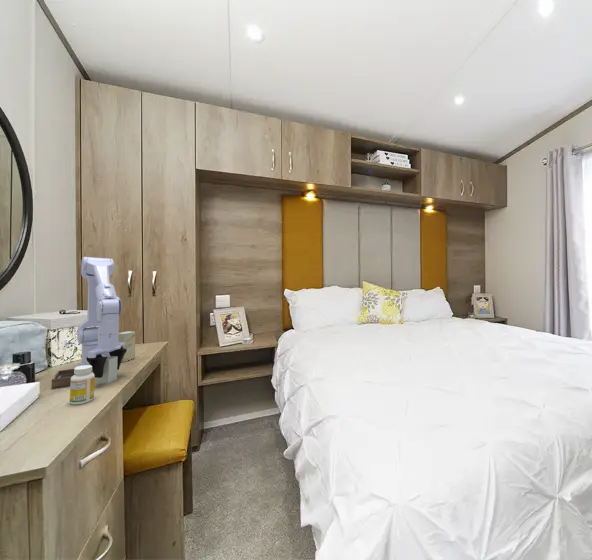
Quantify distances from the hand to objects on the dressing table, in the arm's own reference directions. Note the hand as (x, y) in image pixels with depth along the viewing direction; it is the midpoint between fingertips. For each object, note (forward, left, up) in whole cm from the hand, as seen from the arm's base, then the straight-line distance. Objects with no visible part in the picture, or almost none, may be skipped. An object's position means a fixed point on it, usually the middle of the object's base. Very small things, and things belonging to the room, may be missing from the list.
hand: (107, 373), depth 90 cm
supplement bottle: (+15, +4, -3) cm, 16 cm away
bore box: (+1, -11, -3) cm, 11 cm away
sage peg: (0, 0, -3) cm, 3 cm away
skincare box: (-24, -11, -3) cm, 26 cm away
